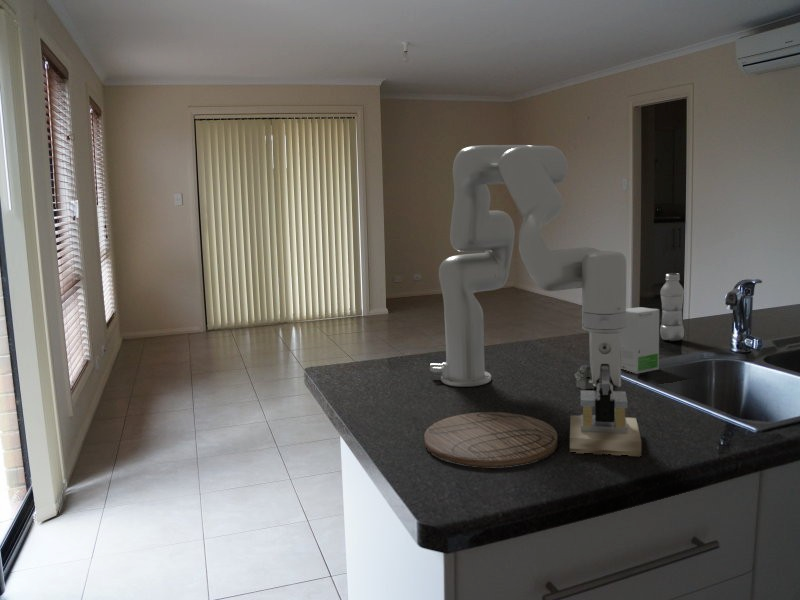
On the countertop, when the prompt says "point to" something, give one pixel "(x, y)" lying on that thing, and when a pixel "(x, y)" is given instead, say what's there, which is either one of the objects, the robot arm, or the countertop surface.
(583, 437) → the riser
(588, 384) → the egg carton
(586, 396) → the block
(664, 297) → the plastic bottle
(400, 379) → the countertop surface
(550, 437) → the trivet
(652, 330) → the skincare box
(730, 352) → the countertop surface
